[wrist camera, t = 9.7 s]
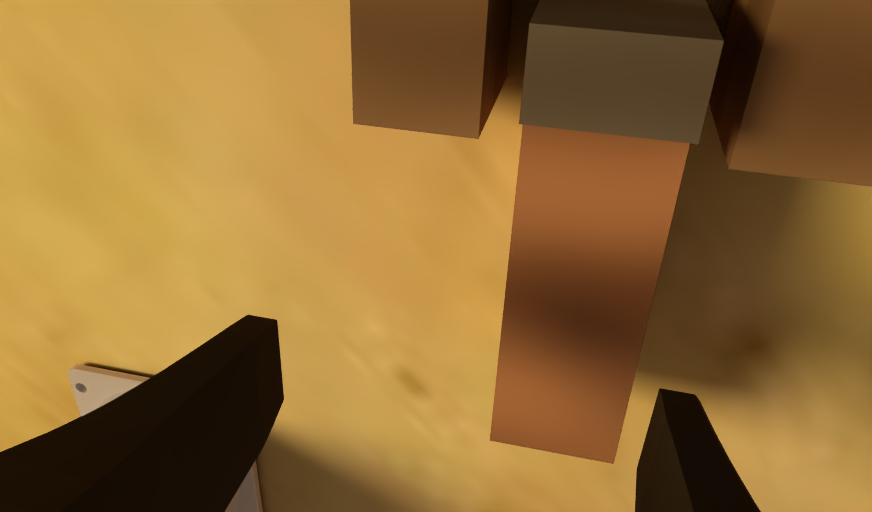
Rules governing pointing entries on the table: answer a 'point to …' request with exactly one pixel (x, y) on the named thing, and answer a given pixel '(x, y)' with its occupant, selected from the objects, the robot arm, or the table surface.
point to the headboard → (730, 97)
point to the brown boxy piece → (594, 209)
